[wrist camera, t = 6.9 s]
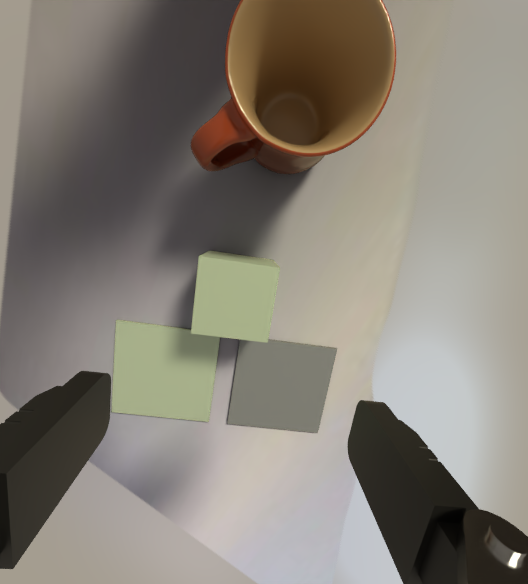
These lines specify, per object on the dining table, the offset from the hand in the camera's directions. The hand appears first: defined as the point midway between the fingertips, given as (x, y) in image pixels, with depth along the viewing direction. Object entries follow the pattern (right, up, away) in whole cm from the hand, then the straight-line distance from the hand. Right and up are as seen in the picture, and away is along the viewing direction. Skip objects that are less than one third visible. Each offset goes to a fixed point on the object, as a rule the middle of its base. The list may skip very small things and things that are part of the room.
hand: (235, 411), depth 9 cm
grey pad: (+3, -6, +20) cm, 21 cm away
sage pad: (-9, -4, +19) cm, 22 cm away
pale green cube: (-2, +4, +18) cm, 18 cm away
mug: (+1, +17, +15) cm, 23 cm away
